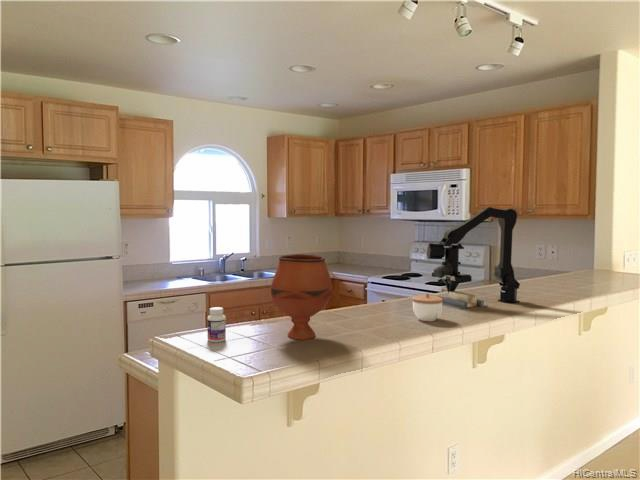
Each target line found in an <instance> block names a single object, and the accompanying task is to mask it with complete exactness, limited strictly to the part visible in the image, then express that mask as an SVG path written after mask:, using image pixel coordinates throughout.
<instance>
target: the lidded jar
mask: <svg viewBox="0 0 640 480" xmlns="http://www.w3.org/2000/svg"><path fill="white" fill-rule="evenodd" d="M442 302H443V299H442V298H440V297H437V296H436V295H430V293H429V292H428V293H426V294H425V295H423V294H421V295H415V296H413V297H412V311H413V313H414V315H415V317H417V318H418V320H419V321H421V322H424V321H425V322H434V321H436V320H437V319H438V317H440V316H441V313H442V310H443V305H442Z"/></svg>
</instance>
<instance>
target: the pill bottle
mask: <svg viewBox="0 0 640 480" xmlns="http://www.w3.org/2000/svg"><path fill="white" fill-rule="evenodd" d="M223 313H224V308H223V307H221V306H215V307H214V306H213V307H210V308H209V315H208V316H207V328H206V329H207V341H208V342H209V343H222V342H224V341H225V340H226V339H227V338H226V337H227V336H226V335H227V333H226V332H227V330H226V322H227V320H226V319H227V318H226V315H224V314H223Z"/></svg>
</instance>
